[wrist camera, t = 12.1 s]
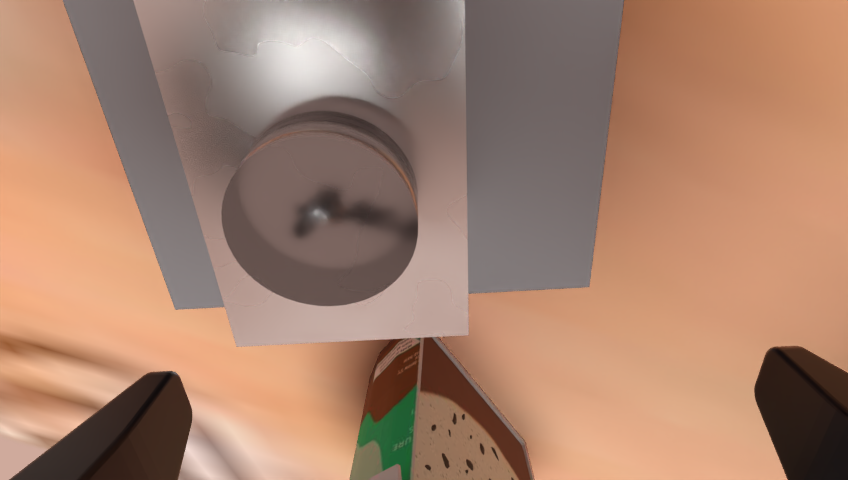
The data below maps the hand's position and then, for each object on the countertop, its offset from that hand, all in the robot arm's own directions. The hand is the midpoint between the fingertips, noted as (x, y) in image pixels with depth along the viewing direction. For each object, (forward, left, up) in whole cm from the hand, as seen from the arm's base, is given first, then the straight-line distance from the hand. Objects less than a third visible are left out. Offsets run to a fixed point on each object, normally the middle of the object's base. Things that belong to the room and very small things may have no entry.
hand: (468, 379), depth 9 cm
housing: (+2, -2, -9) cm, 9 cm away
